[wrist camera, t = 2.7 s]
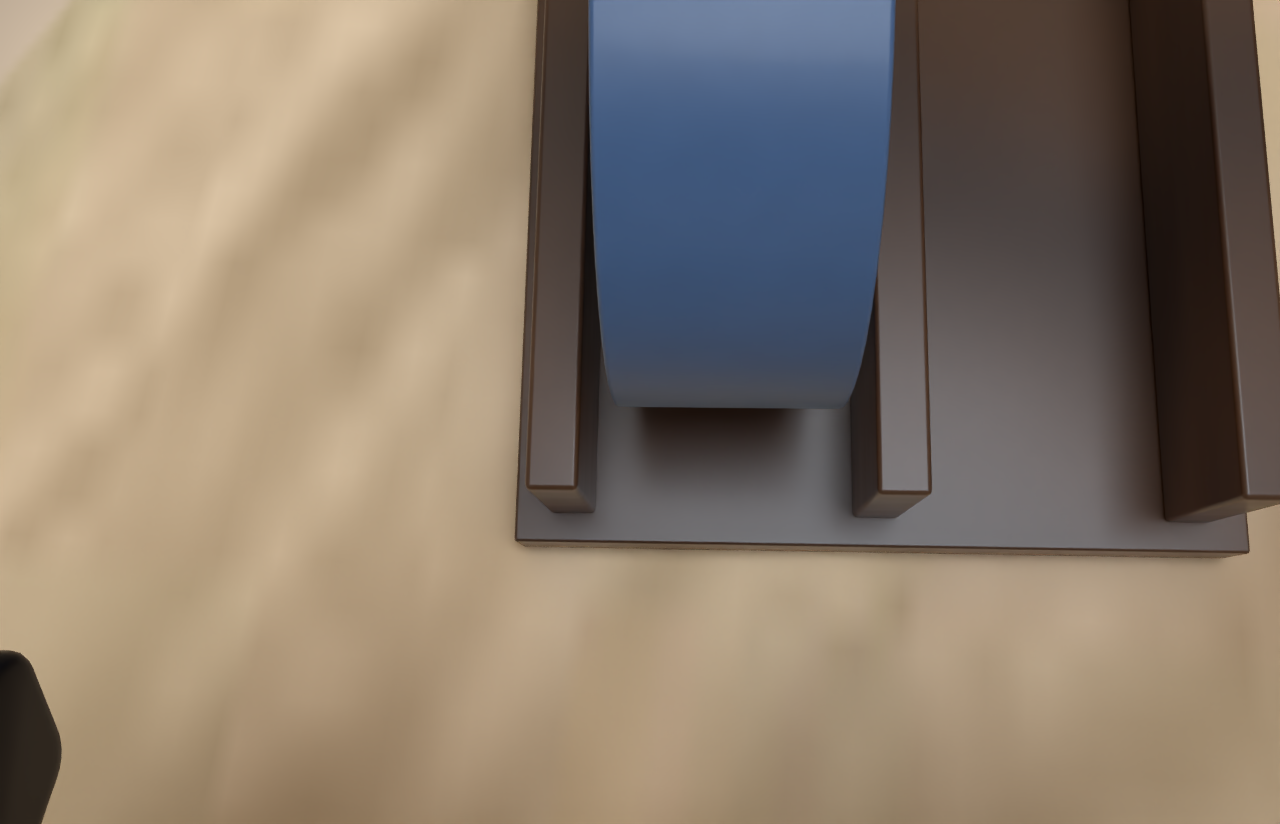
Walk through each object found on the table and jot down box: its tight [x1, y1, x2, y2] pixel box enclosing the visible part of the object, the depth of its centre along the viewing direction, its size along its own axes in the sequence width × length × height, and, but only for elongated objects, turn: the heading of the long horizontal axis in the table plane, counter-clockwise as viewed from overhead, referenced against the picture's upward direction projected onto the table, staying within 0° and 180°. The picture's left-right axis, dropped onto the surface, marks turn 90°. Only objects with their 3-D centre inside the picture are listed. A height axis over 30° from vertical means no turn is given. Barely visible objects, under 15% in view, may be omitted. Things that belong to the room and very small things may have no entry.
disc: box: [588, 0, 896, 409], centre depth 17 cm, size 9×3×9 cm, turn 179°
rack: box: [515, 0, 1280, 558], centre depth 20 cm, size 12×12×4 cm
